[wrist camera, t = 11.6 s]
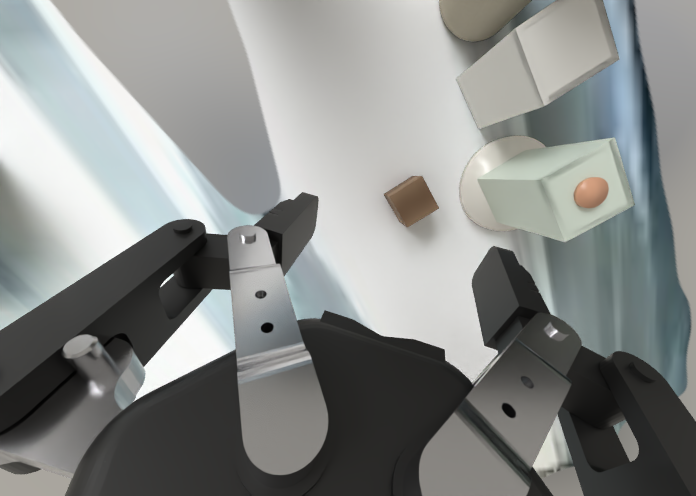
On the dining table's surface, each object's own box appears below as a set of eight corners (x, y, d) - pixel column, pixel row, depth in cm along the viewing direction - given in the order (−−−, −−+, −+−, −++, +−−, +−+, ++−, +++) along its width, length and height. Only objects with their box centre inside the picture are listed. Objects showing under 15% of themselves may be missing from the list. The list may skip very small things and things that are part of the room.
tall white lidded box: (456, 78, 28) (515, 28, 19) (506, 45, 27) (595, -26, 18) (478, 129, 30) (544, 106, 20) (526, 98, 29) (619, 59, 19)
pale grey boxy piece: (476, 178, 30) (544, 180, 20) (524, 150, 29) (620, 136, 19) (496, 222, 31) (569, 243, 21) (542, 195, 31) (640, 205, 21)
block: (383, 194, 31) (389, 196, 28) (412, 176, 31) (422, 176, 27) (399, 221, 32) (407, 227, 29) (427, 204, 32) (439, 208, 28)
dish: (443, 170, 31) (447, 170, 30) (529, 117, 29) (537, 115, 28) (481, 245, 33) (486, 247, 32) (561, 199, 32) (569, 200, 31)
